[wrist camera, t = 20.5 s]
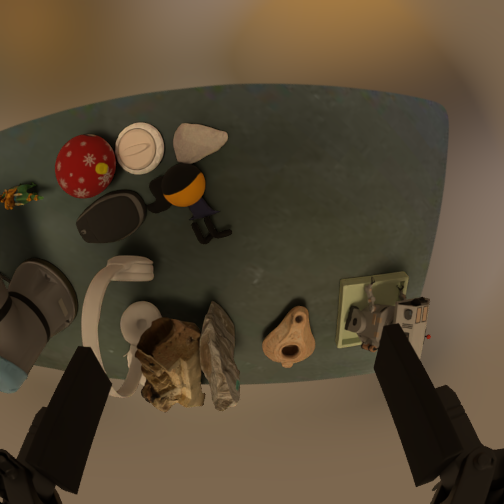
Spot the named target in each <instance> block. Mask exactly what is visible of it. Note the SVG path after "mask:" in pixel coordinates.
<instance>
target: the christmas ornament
mask: <svg viewBox="0 0 504 504" xmlns="http://www.w3.org/2000/svg"><path fill="white" fill-rule="evenodd" d="M115 169H116V159H115V154H114V151H113V149H112V148H111V146H110V145H109V143H108V142H107V141H106V140H104V139H103V138H101V137H99V136H96V135H92V134H84V135H79V136H76V137H74V138H72V139H71V140H69V141H68V142H67V143H66V144H65V145H64V146H63V147H62V149H61V150H60V152H59V154H58V156H57V159H56V164H55V173H56V178H57V181H58V183H59V185H60V186H61V188H62V189H63V190H64V191H65V192H66V193H68V194H69V195H71V196H73V197H76V198H90V197H93V196H96V195H98V194H100V193H101V192H102V191H103V190H105V189H106V188H107V186H108V185H109V184H110V182H111V181H112V179H113V176H114V173H115Z"/></svg>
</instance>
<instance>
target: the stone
mask: <svg viewBox="0 0 504 504" xmlns="http://www.w3.org/2000/svg"><path fill="white" fill-rule="evenodd" d="M227 139H228V135H227V133H226V132H225V131H219V130H216V129H213V128H211V127H206V126H203V125H199V124H188V123H184V124H181V125H180V126H179V127H178V129H177V130H176V132H175V135H174V139H173V146H174V149H175V154H176V158H177V161H178V162H183V163H187V164H191V163H194V162H197V161H199V160H200V159H202V158H203V157H205V156H207V155H209V154H211V153H213V152H215V151H218V150H219V149H220V148H221V146H223V145H224V144H225V142H226V141H227Z"/></svg>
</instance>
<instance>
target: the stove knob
mask: <svg viewBox="0 0 504 504" xmlns="http://www.w3.org/2000/svg"><path fill="white" fill-rule="evenodd" d="M134 128H141V129H134ZM131 129H133V130H131ZM143 129H144V130H143ZM129 130H130V131H129ZM127 131H128V132H127ZM147 131H148V132H147ZM126 132H127V133H126ZM125 133H126V134H125ZM122 136H123V137H122ZM121 137H122V138H121ZM120 139H121V140H120ZM119 141H120V142H119ZM118 144H119V146H118ZM115 145H116V147H115V155H116V157H117V161H118V163H119V164H120V165H121V166H122V167H123V169H124V170H126V171H128V172H130V173H132V174H146V173H148V172H150V171H152V170H154V169H155V168H156V167H157V166H158V164H159V163H160V161H161V159H162V157H163V153H164V142H163V139H162V136H161V134H160V133H159V131H158V130H157V129H156V128H155V127H153V126H152V125H150V124H147V123H134V124H132V125H129V126H128V127H126V128H125V129H124V130H123V131H122V132H121V133H120V134H119V136H118V139H117V141H116V144H115ZM118 154H119V155H118ZM155 154H156V155H155ZM119 157H120V158H119ZM154 157H155V158H154ZM120 159H121V160H120ZM153 159H154V160H153ZM121 161H122V162H121ZM151 162H152V163H151ZM149 164H150V165H149ZM148 165H149V166H148ZM126 166H127V167H128V168H127V167H126ZM147 166H148V167H147ZM145 167H146V168H145ZM129 168H131V169H129ZM142 168H145V169H142ZM132 169H137V170H132ZM139 169H142V170H139Z"/></svg>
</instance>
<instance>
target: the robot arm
mask: <svg viewBox="0 0 504 504" xmlns="http://www.w3.org/2000/svg"><path fill="white" fill-rule="evenodd" d="M2 279H4V280H6V281H7V282H9V283H10V284H9V287H8V289H6V287H5V285H4V282H3V280H2ZM77 311H78V302H77V297H76V294H75V291H74V289H73V287H72V285H71V284H70V282H69V281H68V279H67V278H66V277H65V275H64V274H63V273H62V272H61V271H60V270H59V269H58V268H56V267H55V266H54V265H52V264H51V263H49V262H47V261H45V260H42V259H38V258H30V259H27V260H25V261H24V262H23V263H22V264H21V265H20V266H18V267H17V269H16V270H15V272H14V275H13V277H12V280H10V279H9V278H7V277H6V276H4V275H2V274H1V273H0V391H1V392H5V393H14V392H16V391H17V390H18V389H19V388H20V386H21V385H22V384H23V382H24V381H25V379H27V377H28V374H29V372H30V370H31V369H32V367H33V365H34V363H35V362H36V360H37V358H38V357H39V355H40V353H41V352H42V350H43V349H44V347H45V345H46V344H47V342H48V341H49V339H50V338H51V337H53V336H54V335H56V334H57V333H59V332H60V331H62V330H63V329H65V328H66V327H68V326H69V325H70V324H71V323H72V321H73V320H74V318H75V316H76V314H77ZM374 370H375V373H376V375H377V378H378V381H379V383H380V386H381V388H382V391H383V393H384V396H385V398H386V401H387V404H388V407H389V409H390V412H391V415H392V417H393V420H394V423H395V426H396V428H397V431H398V434H399V437H400V439H401V443H402V445H403V448H404V451H405V454H406V457H407V460H408V463H409V466H410V469H411V473H412V475H413V479H414V482H415V485H416V487H418V486H421V485H423V484H426V483H428V482H431V481H433V480H434V479H435V478H437V477H438V476H440V479H441V481H440V482H439V483H437V484H436V485H435V486H434V488H433V489H432V491H435V490H436V489H437V490H436V492H435V495H434V497H433V499H432V501H431V503H430V504H504V449H498V450H492V449H490V448H488V447H486V446H484V445H483V444H481V442H480V440H479V439H478V436H477V434H476V432H475V430H474V428H473V426H472V424H471V422H470V420H469V418H468V416H467V414H466V413H465V410H464V408H463V406H462V405H461V402H460V400H459V399H458V397H457V395H456V393H455V392H454V391H453V390H452V389H451V388H449V387H448V386H447V385H444V386H441V387H438V388H434V386H433V384H432V382H431V380H430V378H429V376H428V374H427V372H426V371H425V368H424V367H423V365H422V363H421V361H420V359H419V357H418V356H417V354H416V352H415V350H414V348H413V347H412V345H411V343H410V341H409V340H408V338H407V336H406V334H405V333H404V331H403V329H402V327H401V326H400V324H399V323H396V324H390V325H385V326H383V330H382V334H381V339H380V343H379V348H378V352H377V356H376V360H375V364H374ZM111 387H112V383H111V382H110V380H109V378H108V377H107V375H106V373H105V372H104V370H103V368H102V366H101V365H100V363H99V361H98V359H97V357H96V356H95V354H94V352H93V350H92V348H91V347H84V346H78V348H77V349H76V351H75V353H74V355H73V357H72V359H71V361H70V362H69V364H68V366H67V368H66V370H65V372H64V374H63V376H62V378H61V380H60V382H59V384H58V386H57V388H56V390H55V392H54V394H53V396H52V398H51V400H50V402H49V405H48V407H42V408H41V409H40V410H39V412H38V413H37V414H36V415H35V418H34V420H33V422H32V425H31V426H30V429H29V432H28V433H27V436H26V438H25V440H24V443H23V445H22V448H21V450H20V452H19V455H18V457H17V459H15V458H14V457H13V456H12V455H10V454H9V453H8V452H7V451H6V450H3V449H0V497H2V498H3V502H2V503H1V502H0V504H62V501H61V499H60V497H59V494H58V493H57V491H56V489H55V486H56V485H57V486H59V487H60V488H61V489H63V490H65V491H68V492H71V493H74V494H77V493H78V489H79V485H80V482H81V478H82V475H83V471H84V468H85V464H86V461H87V458H88V455H89V451H90V448H91V445H92V442H93V439H94V436H95V433H96V429H97V426H98V424H99V420H100V417H101V415H102V412H103V409H104V406H105V403H106V400H107V397H108V395H109V392H110V390H111Z"/></svg>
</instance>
